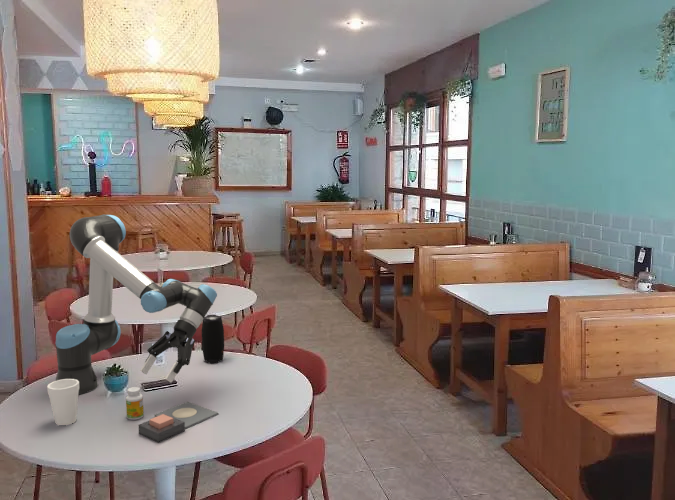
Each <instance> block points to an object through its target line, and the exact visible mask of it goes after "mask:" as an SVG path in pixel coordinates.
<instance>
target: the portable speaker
mask: <svg viewBox="0 0 675 500" xmlns="http://www.w3.org/2000/svg"><path fill="white" fill-rule="evenodd" d="M201 324H202V325H201V348H202V354H203V360H204V362H207V363H208V364H209V365H212V364H213V365H214V364H218V363H219V362H220V361H222V362H223V360H224V354H225V328H224V323H223V320H222V316H221V315H217V314H206V315H205V317H204V319H203V321H202V322H201Z"/></svg>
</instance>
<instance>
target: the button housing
mask: <svg viewBox="0 0 675 500" xmlns="http://www.w3.org/2000/svg"><path fill="white" fill-rule="evenodd" d="M164 415H166V414H164ZM167 416H168V415H167ZM169 417H171V416H169ZM172 418H173V417H172ZM173 421H174V423H173V424H171V425H169V426H166V427H164V428H162V429H158V428H155V427H153V426H151V425H150V423H149V420H147V421H144V422H142V423H139V424H137V425H138V434H139V435H141V436H143V437H145V438H148V440H149V439H150V440H152V441H154V442H156V443H158V444H159V443H161V442H164V441H165V440H168V439H170V438H172V437H175V436H177V435H178V434H182V433H183V432H185V431H186V429H185V422H183V421H181V420H178V419H176V418H173Z"/></svg>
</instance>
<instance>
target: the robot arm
mask: <svg viewBox="0 0 675 500" xmlns="http://www.w3.org/2000/svg"><path fill="white" fill-rule="evenodd" d="M126 234H127V230H126V227H125V224H124V222H123V221H121V219H120V218H119V217H118V216H116V215H113V214H101V215H94V216H87V217H86V216H85V217H81V218H78V219H77V220H75V222H74V223H72V225H71V227H70V229H69V239H70V242H71V244H72V246H73V247H74V250H76V251H77V253H79V254H80V255H81V256H83V257H84V258H85V259H90V260H89V279H88V281H89V283H88V285H89V286H88V306H87V307H88V310H87V311H88V312H87V314H85V315H84V316H83V323H74V324H70V325H66V326H64V327H62V328H60V329H59V330H58V331H57V332H56V335H55V348H56V349H55V350H56V360H57V361H56V362H57V374H56V377H55V380H54V381H57V380H62V379H76V380H78V381H79V393H78V395H83V394H87V393H89V392H91V391H93V390H96V389H97V388H98V385H99V382H98V377H97V375H96V373H95V370H94V369H93V366H92V364H93V363H92V356H93V355H95V354H98V353H100V352H102V351H106V350H108V349H110V348H111V347H113V346H114V345H116V344H117V343H118V342H119V340H120V338H121V333H122V331H121V326H120V324H119V323H118V321H117V320H116V316H115V315H114V314H113V312H112V311H113V308H112V307H113V291H114V290H113V288H114V279H115V280H116V281H118V282H119V283H120V284H121V285H122V286H124V287H125V288H126V289H128V290H129V291H130V292H131V293H132V294H133V295H135V296H136V297H138V298H139V300H140V305H141V306H142V309H143V310H144V312H147V313H149V314H155V313H160V312H161V311H163V310H165V309H167V308H170V307H173V306H176V305H182V306H184V307H185V309H184V310H183V311H182V313H181V315H180V316H179V319H178V320H176V323H175V324H174V326H173V331H172V333H171V332H170V331H167V330H166V331H165V332H164V333H163V335H162V336H161V337H160V338H159V339H157V341H155V342H154V343H153V344H152V345H151V346H150V347H149V348H147V350H146V351H147V352H148V353H149V355H148V357H146V359H145V361H144V363H143V365H142V367H141V368H140V370H139V371H140V372H141V373H143V374H144V375H147V374H148V373H149V371H150V370H151V368H152V367H153V365H154V363H156V360H157V357H158V356H159V355H161V354H162V353H164V352H166V351H167V350H168V349H171V348H175V349H177V360H176V361H175V362H174V363H173V365H172V366H171V368H170V370H169V371H168V373H167V375H166V376H165V377H164V379H165V380H166V381H167V382H169V383H171V384H172V383H173V381H174V379H175V377H176V376H177V374H179V372H180V371H181V369H182V368H183V367H184V366H189V365H190V362H191V357H192V352H193V346H194V345H195V342H196V340H195V339H194V338H193V337H194V335H195V334H196V332H197V329H199V327H200V325H201V324H202V322H203V319H204V317H206V316H207V315H208V313H209V311H210V309H211V307H212V306H213V305H214V303H215V301H216V299H217V297H218V293H217V291H216V290H215V288H213V287H211V286H210V285H207V284H204V283H203V284H199V286H198V287H194V286H192V285H188V284H187V283H184V282H183V281H180V280H177V279H174V278H169V279H167V280H166V281H164V282H163V284H162V286H159V285H158V284H157V283H156V282H155V281H154V280H152V279H151V278H150V277H148V276H147V275H146V274H144V272H142V271H141V270H140V269H139V268H137V267H136V266H135V265H134V264H133V263H132V262H131V261H129V260H127V258H125V257H124V256H123V255H121V253H119V250H120V244H121V243H122V242H123V240H125V238H126Z"/></svg>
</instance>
